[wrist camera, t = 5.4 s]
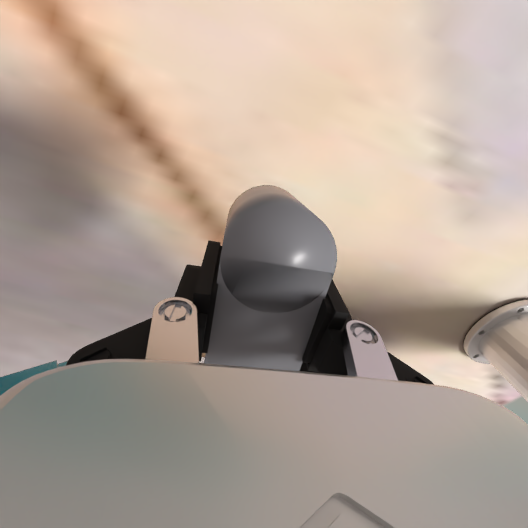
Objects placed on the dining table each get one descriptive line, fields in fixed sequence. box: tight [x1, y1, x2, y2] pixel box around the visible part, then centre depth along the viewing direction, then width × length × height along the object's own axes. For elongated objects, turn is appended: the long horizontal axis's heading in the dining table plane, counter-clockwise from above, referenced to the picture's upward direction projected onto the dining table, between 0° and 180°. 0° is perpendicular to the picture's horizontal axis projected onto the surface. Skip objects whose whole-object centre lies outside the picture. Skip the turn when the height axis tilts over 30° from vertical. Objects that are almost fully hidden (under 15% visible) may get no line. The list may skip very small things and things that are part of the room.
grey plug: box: [204, 185, 337, 371], centre depth 12 cm, size 11×4×5 cm, turn 167°
